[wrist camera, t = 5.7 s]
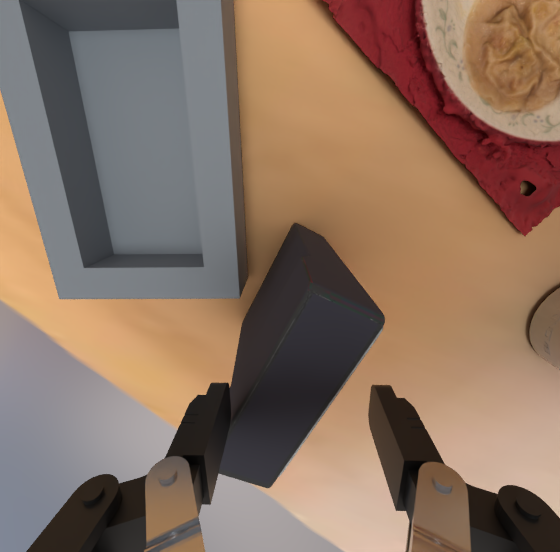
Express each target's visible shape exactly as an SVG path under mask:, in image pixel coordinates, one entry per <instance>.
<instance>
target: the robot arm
mask: <svg viewBox="0 0 560 552" xmlns="http://www.w3.org/2000/svg"><path fill="white" fill-rule="evenodd" d="M529 334H530V341H531V344H532V347H533V349H534V350H535V351H536V352H537V354H538V355H540V356H541V357H542V358H544V359H545V360H546V361H548V362H549V363H551V364H552V365H553V366H555V367H556V368H558V369H559V370H560V288H558V289H557V290H556V291H554V292H553V293H552V294H550V295H549V296H548V297H547V298H546V299H545V300H544V301H543V302H542V303H541V305H540V306H539V308H538V309H537V311H536V312H535V314H534V316H533V319H532V321H531V325H530V331H529ZM368 416H369V425H370V430H371V433H372V436H373V439H374V442H375V446H376V449H377V452H378V455H379V458H380V461H381V465H382V468H383V471H384V474H385V477H386V480H387V484H388V487H389V490H390V493H391V496H392V499H393V503H394V506H395V509H396V511H406V512H407V515H408V518H409V527H408V534H407V543H406V551H405V552H560V518H559V517H558V516H557V515H556V514H555V512H554V511H553V510H552V509H551V508H550V507H549V506H548V505H547V504H546V503H545V502H544V501H543V500H542V499H541V498H539V497H538V496H537V495H535V494H534V493H532V492H530V491H528V490H526V489H524V488H521V487H518V486H513V485H507V486H503V487H502V488H501V489H500V490H499V492H498V494H495V493H492V492H489V491H486V490H483V489H479V488H476V487H473V486H471V485H469V484H467V483H465V482H464V480H463V479H462V478H461V476H460V475H459V474H458V473H457V472H455V471H454V470H453V469H452V468H450V467H448V466H446V465H445V464H444V462H443V460H442V458H441V456H440V454H439V453H438V451H437V449H436V447H435V445H434V443H433V441H432V439H431V438H430V436H429V434H428V432H427V430H426V429H425V426H424V425H423V423H422V421H421V420H420V417H419V415H418V413H417V412H416V410H415V408H414V407H413V406H412V405H411V404H410V403H409V402H408V401H407V400H406V399H405V398H397V397H396V395H395V393H394V391H393V389H392V387H391V386H390V385H372V387H371V394H370V403H369V415H368ZM230 423H231V402H230V390H229V384H228V383H211V384H210V386H209V389H208V391H207V394H206V395H198V396H197V397H196V398H195V399H194V400H193V401H192V402H191V403H190V404H189V406H188V408H187V410H186V413H185V416H184V417H183V419H182V422H181V424H180V426H179V428H178V430H177V433H176V435H175V437H174V439H173V442H172V444H171V446H170V448H169V450H168V453H167V455H166V457H165V459H162V460H161V461H160V462H158V463H156V464H155V465H154V466H153V467H152V468H151V470H150V471H149V473H148V474H147V475H145V476H143V477H140V478H137V479H134V480H130V481H126V482H123V483H120V484H119V483H118V480H117V478H116V477H115V476H113V475H110V474H103V475H98V476H96V477H93V478H91V479H89V480H88V481H86V482H85V483H83V484H82V485H81V486H80V487H79V488H78V489H77V490H76V491H75V492H74V493H73V494H72V496H71V497H70V498H69V499H68V501H67V502H66V503H65V504H64V505H63V507H62V508H61V509H60V511H59V512H58V513H57V514H56V515H55V517H54V518H53V519H52V520H51V522H50V523H49V524H48V525H47V527H46V528H45V529H44V530H43V532H42V533H41V534H40V535H39V537H38V538H37V539H36V540H35V542H34V543H33V544H32V545H31V547H30V548H29V549H28V550H27V552H205V549H204V543H203V538H202V533H201V527H200V523H199V518H198V516H199V513H200V509H201V505H202V504H211V500H212V496H213V493H214V489H215V485H216V480H217V476H218V472H219V468H220V464H221V460H222V456H223V452H224V448H225V444H226V440H227V436H228V432H229V428H230Z"/></svg>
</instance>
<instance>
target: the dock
mask: <svg viewBox="0 0 560 552" xmlns="http://www.w3.org/2000/svg"><path fill="white" fill-rule="evenodd" d="M0 90H1V93H2V97H3V100H4V104H5V108H6V111H7V115H8V118H9V122H10V125H11V129H12V132H13V136H14V140H15V143H16V147H17V150H18V154H19V157H20V161H21V164H22V168H23V171H24V175H25V179H26V182H27V186H28V189H29V193H30V196H31V200H32V203H33V207H34V211H35V214H36V218H37V221H38V225H39V228H40V232H41V235H42V239H43V243H44V246H45V250H46V253H47V257H48V260H49V264H50V267H51V271H52V274H53V278H54V282H55V285H56V289H57V292H58V296H59V299H216V298H240V296H241V294H242V291H243V289H244V286H245V283H246V281H247V278H248V268H247V249H246V230H245V211H244V191H243V172H242V153H241V134H240V115H239V96H238V77H237V58H236V38H235V19H234V0H0Z"/></svg>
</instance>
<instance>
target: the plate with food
mask: <svg viewBox="0 0 560 552" xmlns="http://www.w3.org/2000/svg"><path fill="white" fill-rule="evenodd" d="M322 1H325V2H327V3H328V4H329V6H328V8H329V10H330V11H331V12H333V13H334V15H333V18H334V19H335V20H336V22H337V23H338V24H339V25H340V26H341V27H342V28H343V29H344V30H345V31H346V32H347V33H348V35H349V36H350V37H351V38H352V39H353V40H354V42H355V43H356V44H357V45H358V46H359V47H360V48H361V50H362V52H363V53H364V54H365V55H366V56H367V57H369V59H370V61H371V62H372V63H373V64H375V66H376V67H377V69H379V68H380V69H381V70H382V71H383V73H385V74H387V75H389V76H390V77H391V79H392V80H393V81H394V82H395V86H397V87H398V88H399V91H400V92H401V93H402V94H403V95H404V97H405V98H406V99H407V100H408V101H409V102H410V103H411V104H412V106H415V107H416V108H417V109H418V110H419V112H420V113H421V114H422V116H423V117H424V118H425V119H426V121H427V122H428V124H429V125H430V126H431V127H432V129H433V130H434V131H435V132H436V134H437V135H438V136H439V137H440V138H441V139H442V140H443V141H444V142H445V144H446V145H447V147H448V148H449V149H450V150H451V152H452V153H453V154H454V156H455V157H456V158H457V159H458V160H459V161H460V162H461V163H463V164H465V166H466V169H468V170H469V171H470V172H471V173H472V174H473V175H474V176H475V177H476V178H477V180H478V182H479V185H480V186H481V187H482V188H483V189H484V190H485V191H486V192H487V193H488V195H489V196H491V197H492V198H493V199H494V201H495V203H497V204H499V205H500V207H501V211H503V212H504V213H505V215H506V217H507V218H508V220H509V221H510V222H512V223H513V225H514V226H515V227H516V228H517V229H518V230H519V231H520V232H521V233H522V234H523V235H524V236H525V237H526V235H527V234H528V233H529V232H530V231H531V230H532V227H534V226H537V225H538V224H539V223H541V222H542V220H543V219H544V218H546V217H548V216H549V214H550V213H551V212H552V210H553V209H554V208H557V207H559V206H560V0H322ZM523 180H525V181H530V182H531V183H532V184H534V185H535V186H536V191H535V192H533V193H532V194H531V195H530V196H527V197H526V196H524V195H522V194H520V191H521V188H520V184H521V182H522V181H523Z"/></svg>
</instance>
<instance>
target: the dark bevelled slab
mask: <svg viewBox="0 0 560 552" xmlns="http://www.w3.org/2000/svg"><path fill="white" fill-rule="evenodd" d="M384 323H385V317H384V315H383V313H382V312H381V310H380V309H379V308H378V306H377V305H376V304H375V303H374V301H373V300H372V299H371V297H370V296H369V295H368V294H367V292H366V291H365V290H364V288H363V287H362V286H361V285H360V283H359V282H358V281H357V279H356V278H355V277H354V276H353V274H352V273H351V272H350V270H349V269H348V268H347V267H346V265H345V264H344V263H343V262H342V260H341V259H340V258H339V256H338V255H337V254H336V253H335V251H334V250H333V249H332V247H331V246H330V245H329V244H328V242H327V241H326V240H325V238H324V237H322V236H321V235H319V234H317V233H315V232H313V231H311V230H309V229H307V228H305V227H303V226H301V225H299V224H297V223H294V224H293V225H292V227H291V229H290V231H289V233H288V235H287V237H286V239H285V241H284V243H283V245H282V247H281V249H280V250H279V252H278V254H277V256H276V258H275V260H274V262H273V264H272V266H271V268H270V270H269V272H268V274H267V276H266V278H265V280H264V281H263V283H262V285H261V287H260V289H259V291H258V293H257V295H256V297H255V299H254V301H253V303H252V305H251V307H250V309H249V311H248V313H247V314H246V316H245V318H244V320H243V323H242V327H241V333H240V338H239V344H238V349H237V355H236V361H235V366H234V372H233V377H232V383H231V386H230V388H229V390H230V402H231V423H230V428H229V432H228V436H227V440H226V444H225V448H224V452H223V456H222V460H221V464H220V468H219V472H218V473H219V474H222V475H226V476H229V477H233V478H235V479H239V480H242V481H245V482H248V483H252V484H255V485H258V486H262V487H265V488H270V487H271V486H272V485H273V483H274V482H275V480H276V479H277V478H278V477H279V476H280V475H281V474H282V473H283V471H284V470H285V469H286V467H287V466H288V464H289V463H290V462H291V460H292V459H293V457H294V456H295V454H296V453H297V452H298V450H299V449H300V447H301V446H302V444H303V443H304V442H305V440H306V439H307V437H308V436H309V435H310V433H311V432H312V430H313V429H314V427H315V426H316V425H317V423H318V422H319V420H320V419H321V417H322V416H323V415H324V413H325V412H326V410H327V409H328V408H329V406H330V405H331V403H332V402H333V400H334V399H335V398H336V396H337V395H338V393H339V392H340V390H341V389H342V388H343V386H344V385H345V383H346V382H347V381H348V379H349V378H350V376H351V375H352V373H353V372H354V371H355V369H356V368H357V366H358V365H359V363H360V362H361V361H362V359H363V358H364V356H365V355H366V354H367V352H368V351H369V349H370V348H371V346H372V345H373V344H374V342H375V341H376V339H377V338H378V336H379V335H380V333H381V332H382V330H383V325H384Z"/></svg>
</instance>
